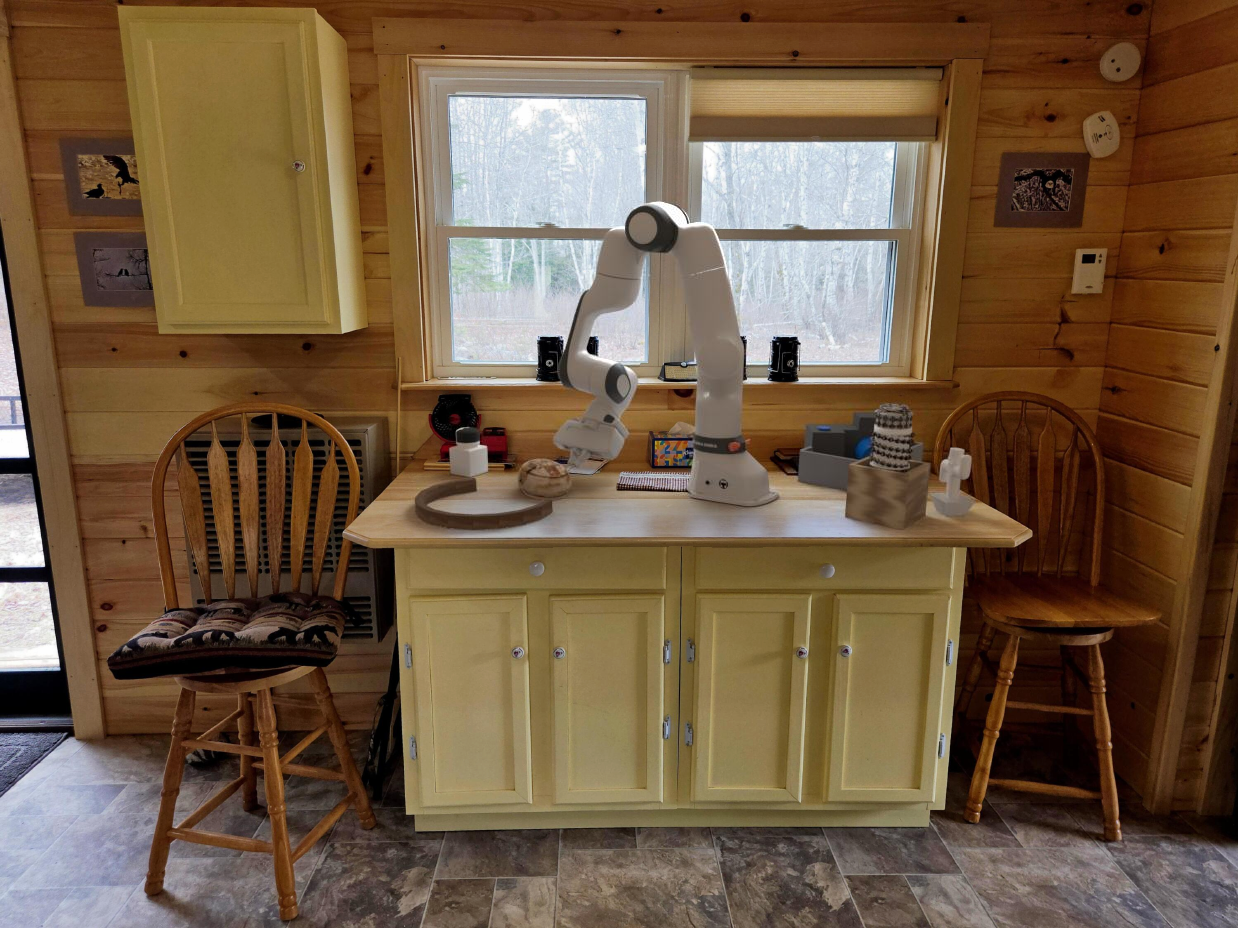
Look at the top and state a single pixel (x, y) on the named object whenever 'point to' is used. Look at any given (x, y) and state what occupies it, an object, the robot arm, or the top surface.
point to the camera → (843, 437)
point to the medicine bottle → (468, 454)
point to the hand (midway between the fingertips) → (572, 465)
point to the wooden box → (887, 493)
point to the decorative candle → (892, 438)
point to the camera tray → (834, 467)
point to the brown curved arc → (473, 520)
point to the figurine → (953, 484)
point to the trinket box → (544, 479)
